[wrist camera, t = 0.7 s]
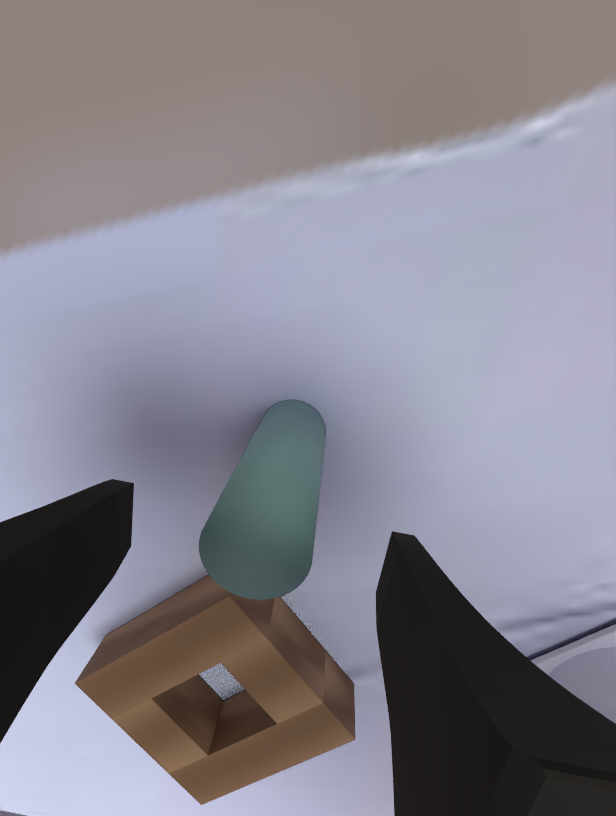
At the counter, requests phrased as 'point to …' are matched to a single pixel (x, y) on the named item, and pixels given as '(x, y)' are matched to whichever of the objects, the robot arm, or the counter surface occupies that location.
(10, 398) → the counter surface
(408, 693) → the robot arm
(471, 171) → the counter surface
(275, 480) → the peg
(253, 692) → the hole block
